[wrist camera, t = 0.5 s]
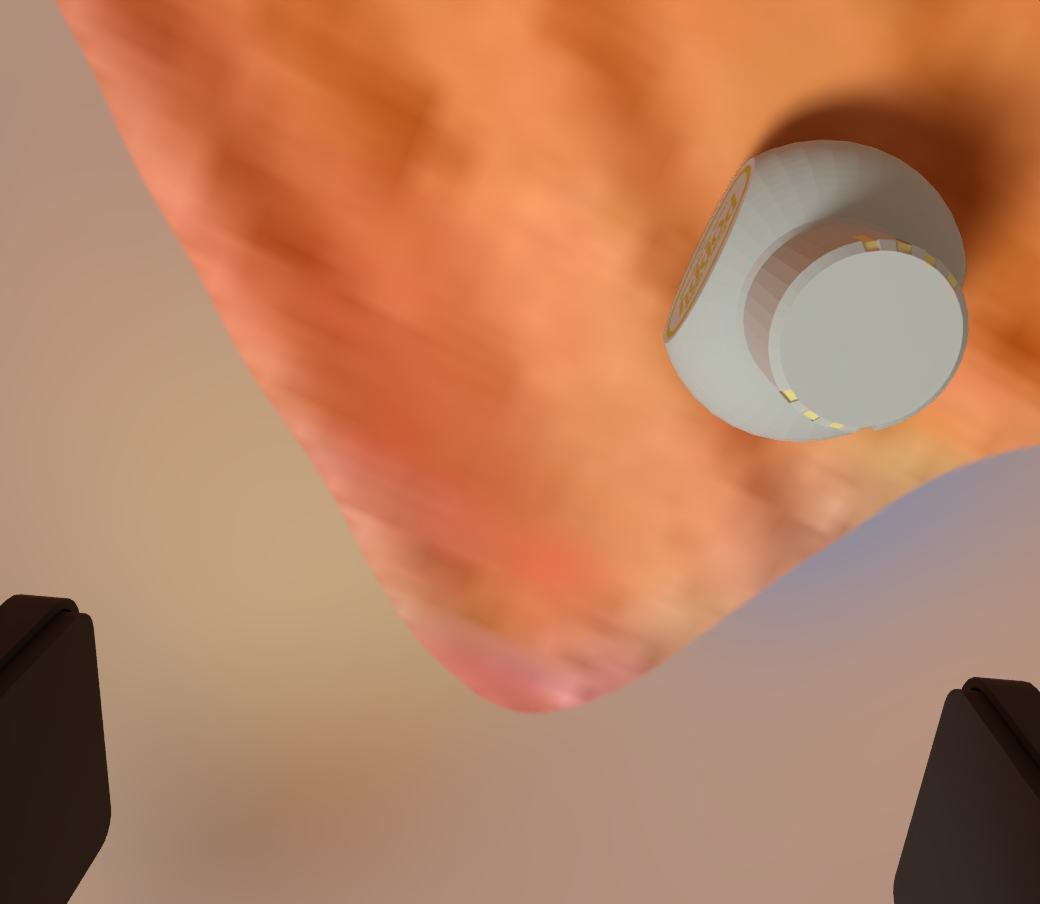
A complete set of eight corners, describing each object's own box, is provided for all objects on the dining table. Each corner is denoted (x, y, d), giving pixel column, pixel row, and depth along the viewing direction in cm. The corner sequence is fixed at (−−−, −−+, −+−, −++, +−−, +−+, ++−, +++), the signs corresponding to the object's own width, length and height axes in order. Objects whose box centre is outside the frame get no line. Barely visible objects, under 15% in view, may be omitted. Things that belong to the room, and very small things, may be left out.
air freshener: (760, 105, 34) (838, 100, 25) (953, 193, 35) (1101, 221, 26) (635, 366, 38) (663, 449, 28) (814, 441, 39) (898, 545, 29)
